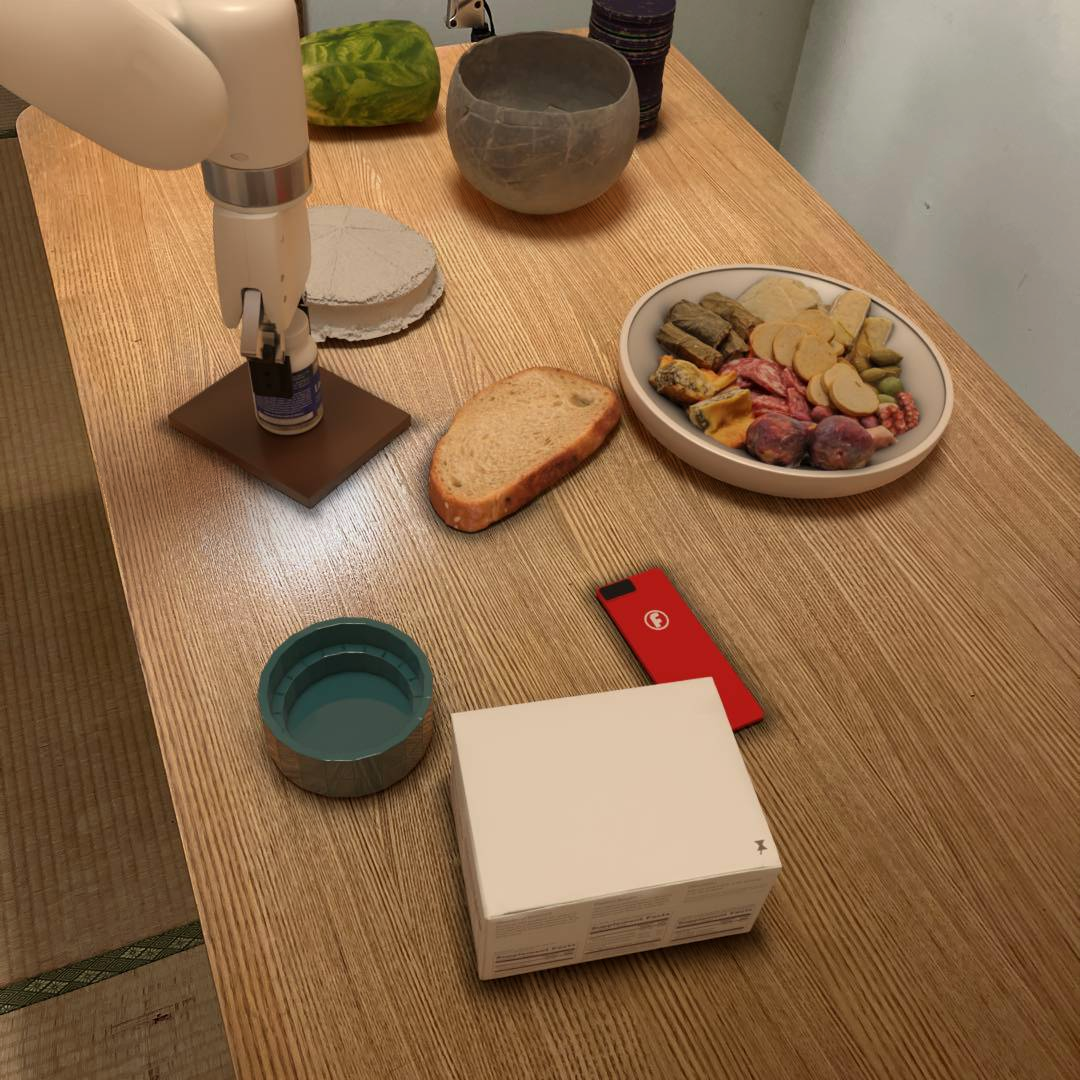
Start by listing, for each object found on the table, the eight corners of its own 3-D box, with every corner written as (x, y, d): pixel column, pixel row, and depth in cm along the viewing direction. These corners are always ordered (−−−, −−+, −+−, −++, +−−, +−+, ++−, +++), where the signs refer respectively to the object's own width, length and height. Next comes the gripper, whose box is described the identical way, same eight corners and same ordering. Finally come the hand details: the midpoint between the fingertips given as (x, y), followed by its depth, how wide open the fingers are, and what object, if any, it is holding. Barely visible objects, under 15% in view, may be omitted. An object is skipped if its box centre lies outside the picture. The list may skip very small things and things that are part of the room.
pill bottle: (335, 424, 92) (326, 330, 85) (272, 446, 90) (257, 351, 82) (307, 385, 95) (296, 291, 88) (245, 405, 93) (229, 310, 85)
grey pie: (196, 305, 104) (184, 243, 98) (317, 212, 116) (312, 153, 111) (372, 376, 98) (369, 315, 93) (479, 271, 111) (481, 212, 106)
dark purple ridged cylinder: (658, 146, 131) (683, -8, 117) (577, 138, 131) (593, -17, 117) (656, 108, 138) (680, -43, 124) (580, 100, 137) (596, -51, 124)
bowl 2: (575, 319, 106) (583, 250, 101) (848, 292, 113) (871, 226, 107) (674, 541, 87) (691, 472, 82) (996, 493, 94) (1033, 426, 88)
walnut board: (169, 425, 92) (166, 414, 91) (276, 351, 100) (274, 341, 99) (310, 509, 87) (308, 498, 86) (411, 424, 94) (411, 414, 94)
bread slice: (433, 536, 86) (433, 503, 83) (415, 389, 98) (414, 356, 95) (651, 521, 89) (658, 489, 86) (608, 380, 100) (612, 348, 98)
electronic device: (765, 719, 76) (658, 570, 85) (766, 714, 76) (659, 565, 85) (695, 747, 74) (593, 592, 83) (697, 743, 74) (594, 588, 83)
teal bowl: (231, 740, 72) (220, 699, 69) (342, 634, 79) (338, 591, 75) (359, 832, 69) (355, 793, 65) (465, 712, 75) (466, 671, 71)
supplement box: (688, 749, 74) (715, 671, 67) (751, 935, 66) (788, 867, 59) (446, 785, 71) (447, 707, 64) (479, 984, 63) (484, 919, 56)
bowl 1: (488, 135, 130) (493, 6, 119) (649, 177, 126) (670, 48, 115) (414, 217, 117) (412, 80, 105) (591, 267, 113) (608, 131, 101)
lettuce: (257, 110, 130) (245, 14, 121) (422, 92, 136) (421, -1, 127) (278, 157, 123) (266, 59, 114) (450, 136, 129) (451, 41, 120)
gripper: (236, 104, 81) (264, 303, 95) (165, 228, 70) (209, 434, 83) (335, 115, 81) (349, 312, 95) (281, 240, 70) (306, 445, 83)
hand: (283, 367), depth 89 cm, fingers closed on pill bottle, 5 cm apart
